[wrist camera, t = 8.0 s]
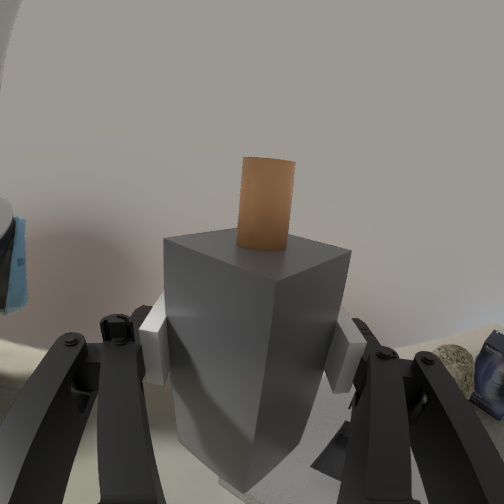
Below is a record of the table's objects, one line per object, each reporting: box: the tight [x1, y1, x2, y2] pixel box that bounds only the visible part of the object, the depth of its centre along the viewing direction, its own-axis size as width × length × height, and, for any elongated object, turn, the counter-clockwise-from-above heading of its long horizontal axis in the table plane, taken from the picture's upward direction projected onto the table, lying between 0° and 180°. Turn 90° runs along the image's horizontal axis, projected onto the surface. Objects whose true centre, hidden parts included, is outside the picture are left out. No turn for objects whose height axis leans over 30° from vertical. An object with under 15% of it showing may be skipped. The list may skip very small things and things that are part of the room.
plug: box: [164, 157, 352, 495], centre depth 11 cm, size 5×5×15 cm
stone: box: [423, 344, 475, 402], centre depth 29 cm, size 6×10×10 cm, turn 5°
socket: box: [219, 376, 428, 504], centre depth 21 cm, size 20×20×4 cm
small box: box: [469, 330, 504, 421], centre depth 26 cm, size 11×6×10 cm, turn 25°
